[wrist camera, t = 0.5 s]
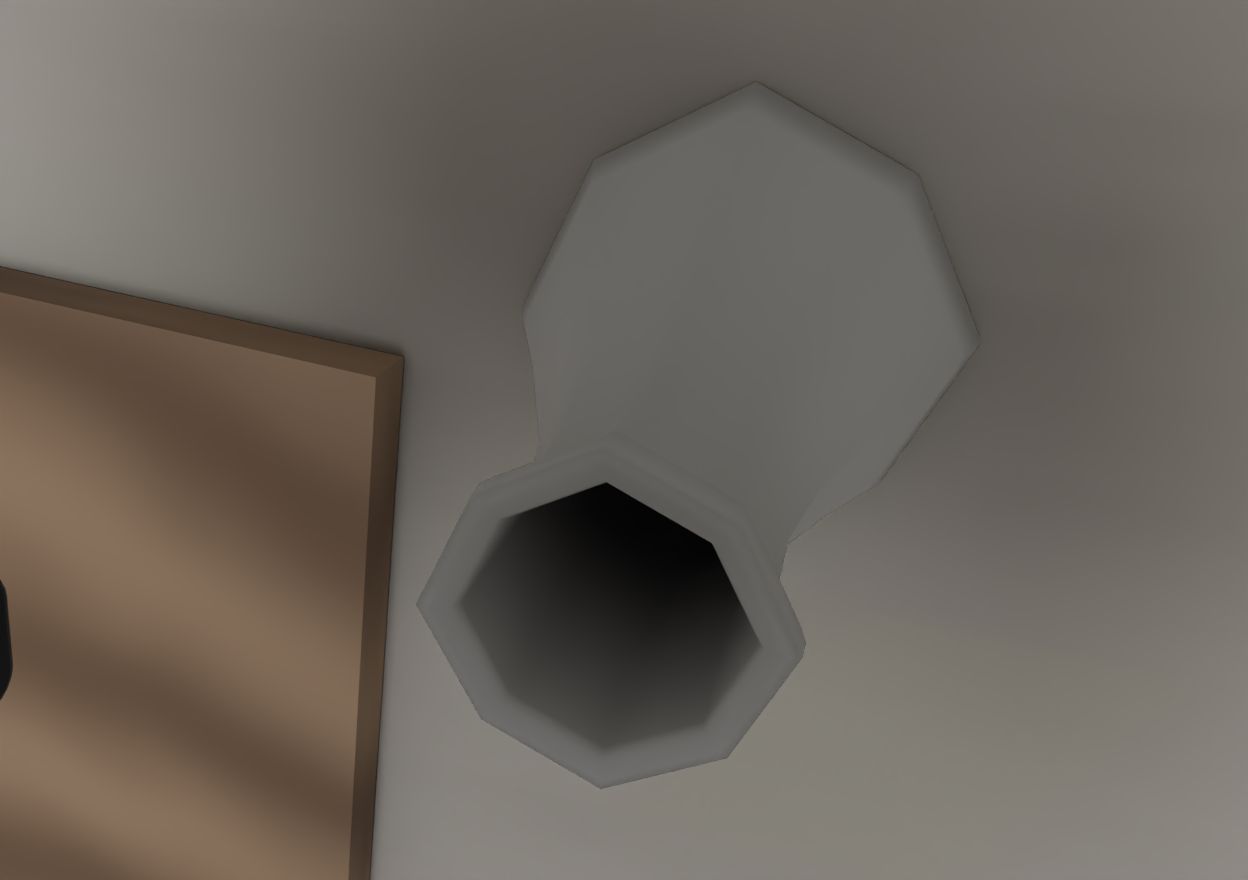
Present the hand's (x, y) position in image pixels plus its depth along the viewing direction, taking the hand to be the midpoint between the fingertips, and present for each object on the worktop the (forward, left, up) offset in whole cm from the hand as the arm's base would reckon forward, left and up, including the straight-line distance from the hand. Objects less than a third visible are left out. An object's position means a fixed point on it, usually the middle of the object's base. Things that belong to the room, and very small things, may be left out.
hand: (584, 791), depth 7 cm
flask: (0, 0, -12) cm, 12 cm away
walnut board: (-11, +12, -12) cm, 20 cm away
